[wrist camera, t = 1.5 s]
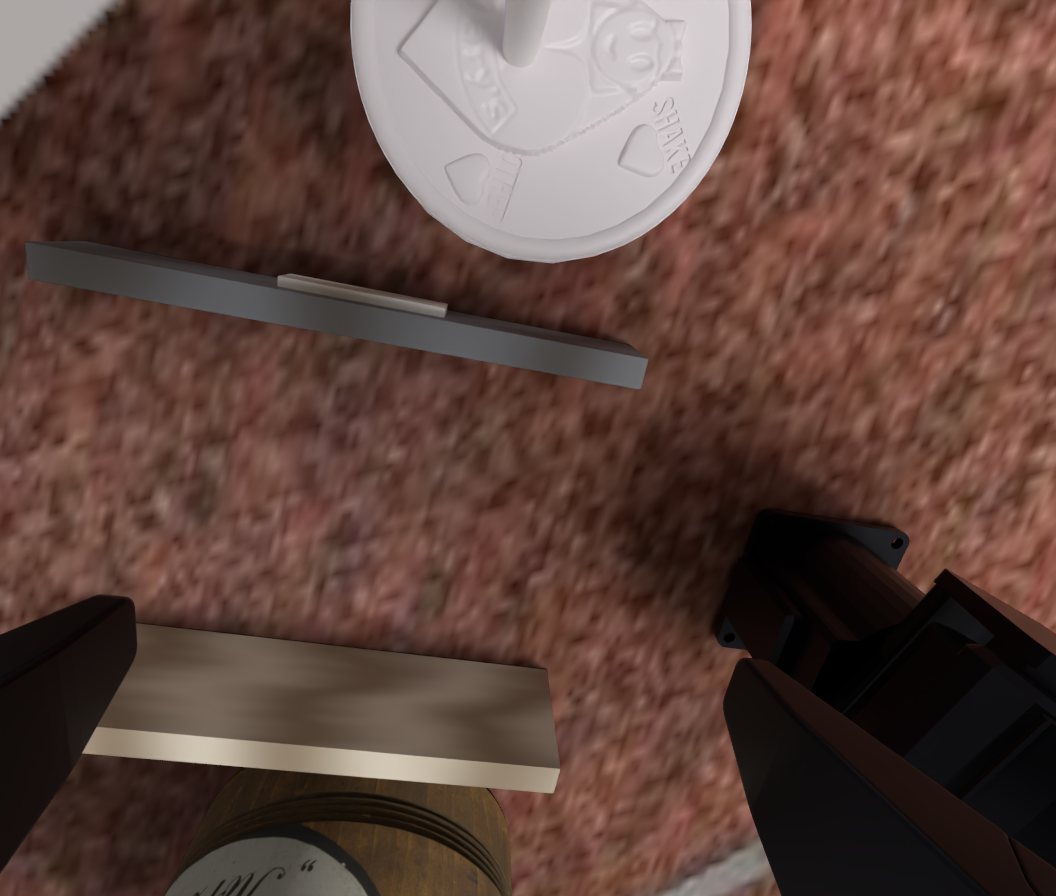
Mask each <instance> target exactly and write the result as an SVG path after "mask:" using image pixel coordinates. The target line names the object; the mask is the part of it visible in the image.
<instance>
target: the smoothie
mask: <svg viewBox="0 0 1056 896" xmlns="http://www.w3.org/2000/svg"><path fill="white" fill-rule="evenodd" d="M350 30H351V45H352V56H353V62H354V69H355V75H356V80H357V84H358V88H359V92H360V96H361V100H362V103H363V106H364V109H365V112H366V115H367V118H368V121H369V123H370V125H371V128H372V130H373V132H374V135H375V137H376V139H377V141H378V143H379V145H380V147H381V149H382V151H383V153H384V155H385V156H386V158H387V160H388V162H389V163H390V165H391V166H392V168H393V170H394V172H395V173H396V175H397V176H398V177H399V178H400V180H401V181H402V182H403V183H404V185H405V186H406V187H407V188H408V190H409V191H410V192H411V193H412V194H413V196H414V197H415V198H416V199H417V201H418V202H419V203H420V204H421V206H422V207H423V208H424V209H425V211H426V212H427V213H428V214H430V215H431V216H432V217H434V218H435V219H436V220H438V221H439V222H440V223H442V224H443V225H444V226H446V227H447V228H448V229H450V230H451V231H452V232H454V233H455V234H456V235H458V236H459V237H460V238H462V239H463V240H464V241H466V242H468V243H471V244H473V245H476V246H478V247H481V248H483V249H486V250H488V251H491V252H493V253H495V254H498V255H500V256H503V257H505V258H508V259H517V260H526V261H535V262H544V263H557V262H563V261H569V260H575V259H581V258H587V257H593V256H597V255H599V254H601V253H604V252H608V251H610V250H613V249H615V248H618V247H620V246H623V245H625V244H627V243H629V242H631V241H632V240H634V239H636V238H638V237H640V236H642V235H643V234H645V233H646V232H648V231H649V230H651V229H652V228H654V227H655V226H657V225H658V224H659V223H660V222H662V221H663V220H664V219H665V218H667V217H668V216H669V215H670V214H671V213H672V212H673V211H674V210H675V209H677V208H678V207H679V206H680V205H681V204H682V203H683V202H684V201H685V200H686V198H687V197H688V196H689V195H690V194H691V193H692V191H693V190H694V189H695V188H696V187H697V186H698V184H699V183H700V181H701V180H702V179H703V177H704V176H705V175H706V173H707V172H708V170H709V169H710V167H711V165H712V164H713V162H714V160H715V159H716V157H717V155H718V154H719V152H720V150H721V148H722V146H723V144H724V142H725V140H726V138H727V136H728V134H729V131H730V129H731V126H732V123H733V121H734V118H735V116H736V113H737V110H738V106H739V103H740V100H741V97H742V93H743V89H744V84H745V80H746V75H747V70H748V62H749V55H750V45H751V0H351V21H350Z"/></svg>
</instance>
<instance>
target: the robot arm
mask: <svg viewBox="0 0 1056 896" xmlns="http://www.w3.org/2000/svg"><path fill="white" fill-rule="evenodd" d="M770 519H774V521H773V522H772V524H770V525H766V523H767V522H768V520H770ZM896 538H897V539H896ZM894 539H896V541H895V542H894V543H892V541H893V540H894ZM891 543H892V544H891ZM908 544H909V537H908V536H907V535H906V534H905V533H904V532H902V531H901V530H899V529H897V528H892V527H886V526H879V525H873V524H867V523H860V522H854V521H848V520H841V519H835V518H829V517H822V516H816V515H810V514H803V513H797V512H791V511H784V510H778V509H765V510H763V511H761V512H760V513H759V514H758V516H757V517H756V520H755V523H754V525H753V528H752V531H751V533H750V536H749V539H748V542H747V544H746V547H745V550H744V552H743V555H742V556H741V557H740V558H739V559H738V562H737V565H736V568H735V570H734V573H733V576H732V579H731V581H730V584H729V587H728V589H727V592H726V595H725V598H724V600H723V603H722V606H721V608H722V612H721V615H720V618H719V621H718V623H717V626H716V629H715V633H714V634H715V637H716V639H717V641H718V642H719V644H720V645H721V646H723V647H728V648H736V649H744V650H748V652H749V653H750V655H751V656H752V658H742V659H740V660H739V661H738V662H737V664H736V666H735V669H734V671H733V674H732V677H731V680H730V682H729V685H728V688H727V691H726V693H725V696H724V701H723V710H724V716H725V720H726V723H727V727H728V731H729V735H730V738H731V742H732V746H733V750H734V753H735V757H736V761H737V765H738V768H739V772H740V776H741V779H742V783H743V787H744V791H745V794H746V798H747V801H748V805H749V808H750V811H751V814H752V817H753V820H754V823H755V826H756V829H757V831H758V834H759V837H760V839H761V842H762V845H763V847H764V850H765V853H766V856H767V858H768V861H769V864H770V866H771V869H772V872H773V874H774V877H775V880H776V882H777V885H778V888H779V891H780V893H781V896H1056V634H1055V633H1054V632H1052V631H1051V630H1049V629H1048V628H1046V627H1045V626H1043V625H1042V624H1040V623H1038V622H1036V621H1035V620H1033V619H1031V618H1030V617H1028V616H1026V615H1025V614H1023V613H1021V612H1019V611H1018V610H1016V609H1014V608H1013V607H1011V606H1009V605H1007V604H1006V603H1004V602H1002V601H1001V600H999V599H997V598H996V597H994V596H992V595H990V594H989V593H987V592H985V591H984V590H982V589H980V588H978V587H977V586H975V585H973V584H972V583H970V582H968V581H966V580H965V579H963V578H961V577H960V576H958V575H956V574H955V573H953V572H951V571H949V570H948V569H946V568H945V569H944V570H943V571H942V572H941V574H940V575H939V576H938V577H937V578H936V579H935V580H934V582H935V583H936V585H935V586H934V587H933V588H932V589H931V590H930V591H929V592H928V593H927V594H926V595H925V594H924V593H923V592H922V591H920V590H919V589H918V588H917V587H916V586H914V585H913V584H912V583H911V582H909V581H908V580H907V579H906V578H905V577H903V576H902V575H901V574H900V573H899V572H897V571H896V570H897V568H898V566H899V564H900V561H901V559H902V557H903V555H904V553H905V551H906V549H907V547H908ZM727 633H731V634H730V635H728V636H725V635H726V634H727ZM724 636H725V637H724ZM136 652H137V629H136V615H135V606H134V602H133V600H131V599H130V598H129V597H124V596H114V595H96V596H93V597H91V598H88V599H86V600H83V601H81V602H78V603H76V604H74V605H71V606H69V607H66V608H64V609H61V610H59V611H57V612H54V613H52V614H49V615H47V616H44V617H42V618H40V619H37V620H35V621H32V622H30V623H27V624H25V625H23V626H20V627H18V628H15V629H13V630H11V631H8V632H6V633H3V634H1V635H0V873H1V872H2V870H3V869H4V868H5V866H6V865H7V863H8V862H9V860H10V859H11V857H12V856H13V855H14V853H15V852H16V850H17V849H18V847H19V846H20V845H21V843H22V842H23V840H24V839H25V837H26V836H27V835H28V833H29V832H30V830H31V829H32V827H33V826H34V824H35V823H36V822H37V820H38V819H39V817H40V816H41V814H42V813H43V812H44V810H45V809H46V807H47V806H48V804H49V803H50V802H51V800H52V799H53V797H54V796H55V794H56V793H57V792H58V790H59V789H60V787H61V786H62V784H63V783H64V781H65V780H66V778H67V777H68V775H69V774H70V772H71V771H72V769H73V767H74V766H75V764H76V762H77V761H78V759H79V757H80V756H81V754H82V752H83V751H84V749H85V747H86V745H87V744H88V742H89V740H90V738H91V737H92V735H93V733H94V731H95V729H96V728H97V726H98V724H99V722H100V721H101V719H102V717H103V715H104V713H105V712H106V710H107V708H108V706H109V705H110V703H111V701H112V699H113V697H114V696H115V694H116V692H117V690H118V688H119V687H120V685H121V683H122V681H123V680H124V678H125V676H126V674H127V672H128V671H129V669H130V667H131V665H132V663H133V661H134V659H135V656H136Z"/></svg>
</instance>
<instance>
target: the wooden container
mask: <svg viewBox="0 0 1056 896" xmlns="http://www.w3.org/2000/svg"><path fill="white" fill-rule="evenodd" d="M165 896H512V889H511V857H510V840H509V833H508V828H507V824H506V820H505V818H504V815H503V813H502V811H501V809H500V807H499V805H498V803H497V802H496V800H495V799H494V797H493V796H492V795H491V793H490V792H489V791H488V790H487V789H486V788H485V787H473V786H462V785H450V784H438V783H426V782H414V781H403V780H391V779H379V778H367V777H356V776H344V775H332V774H320V773H309V772H297V771H285V770H273V769H262V768H250V767H246V768H245V769H243V770H242V771H240V772H239V773H238V774H237V775H236V776H235V777H233V778H232V779H231V780H230V781H229V782H228V783H227V784H226V785H225V786H224V787H223V788H222V790H221V791H220V792H219V793H218V795H217V796H216V798H215V799H214V801H213V802H212V804H211V806H210V807H209V809H208V811H207V813H206V815H205V817H204V818H203V820H202V822H201V824H200V826H199V828H198V830H197V832H196V834H195V836H194V838H193V840H192V842H191V844H190V846H189V848H188V850H187V852H186V854H185V856H184V858H183V860H182V862H181V864H180V866H179V868H178V870H177V872H176V874H175V876H174V878H173V880H172V882H171V884H170V886H169V888H168V890H167V891H166V893H165Z"/></svg>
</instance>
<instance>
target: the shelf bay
mask: <svg viewBox="0 0 1056 896" xmlns="http://www.w3.org/2000/svg"><path fill="white" fill-rule="evenodd" d="M25 247H26V258H27V269H28V279H31V280H37V281H42V282H48V283H53V284H59V285H65V286H70V287H76V288H81V289H87V290H92V291H98V292H103V293H109V294H114V295H120V296H125V297H131V298H136V299H142V300H147V301H153V302H159V303H164V304H170V305H175V306H181V307H186V308H192V309H197V310H203V311H208V312H214V313H219V314H225V315H230V316H236V317H241V318H247V319H253V320H258V321H264V322H269V323H275V324H280V325H286V326H291V327H297V328H302V329H308V330H313V331H319V332H324V333H330V334H335V335H341V336H347V337H352V338H358V339H363V340H369V341H374V342H380V343H385V344H391V345H396V346H402V347H407V348H413V349H418V350H424V351H429V352H435V353H441V354H446V355H452V356H457V357H463V358H468V359H474V360H479V361H485V362H490V363H496V364H501V365H507V366H512V367H518V368H523V369H529V370H535V371H540V372H546V373H551V374H557V375H562V376H568V377H573V378H579V379H584V380H590V381H595V382H601V383H606V384H612V385H617V386H623V387H629V388H634V389H641V386H642V382H643V378H644V374H645V371H646V367H647V363H648V360H649V359H648V358H646V357H645V356H644V355H642V354H641V353H640V352H639V351H637V350H636V349H635V348H633V347H632V346H631V345H627V344H622V343H617V342H612V341H606V340H601V339H596V338H591V337H585V336H580V335H575V334H570V333H564V332H559V331H554V330H549V329H543V328H538V327H533V326H528V325H522V324H517V323H512V322H507V321H501V320H496V319H491V318H486V317H481V316H475V315H470V314H465V313H460V312H454V311H449V310H447V307H448V304H447V303H442V302H436V301H431V300H426V299H421V298H416V297H410V296H405V295H400V294H395V293H390V292H384V291H379V290H374V289H369V288H364V287H358V286H353V285H348V284H343V283H338V282H332V281H327V280H322V279H317V278H312V277H306V276H301V275H296V274H286V275H280V276H278V278H276V277H271V276H266V275H260V274H255V273H250V272H245V271H239V270H234V269H229V268H224V267H218V266H213V265H208V264H203V263H197V262H192V261H187V260H182V259H177V258H171V257H166V256H161V255H156V254H150V253H145V252H140V251H135V250H129V249H124V248H119V247H114V246H108V245H103V244H98V243H93V242H87V241H50V242H25ZM136 629H137V652H136V656H135V659H134V661H133V663H132V665H131V667H130V669H129V671H128V672H127V674H126V676H125V678H124V680H123V681H122V683H121V685H120V687H119V688H118V690H117V692H116V694H115V696H114V697H113V699H112V701H111V703H110V705H109V706H108V708H107V710H106V712H105V713H104V715H103V717H102V719H101V721H100V722H99V724H98V726H97V728H96V729H95V731H94V733H93V735H92V737H91V738H90V740H89V742H88V744H87V745H86V747H85V749H84V751H83V752H82V753H85V754H97V755H109V756H120V757H132V758H144V759H156V760H167V761H179V762H191V763H203V764H214V765H226V766H238V767H250V768H262V769H273V770H285V771H297V772H309V773H320V774H332V775H344V776H356V777H367V778H379V779H391V780H403V781H414V782H426V783H438V784H450V785H462V786H473V787H485V788H497V789H509V790H520V791H532V792H544V793H554V789H555V786H556V782H557V779H558V775H559V772H560V763H559V755H558V748H557V741H556V733H555V726H554V718H553V711H552V704H551V696H550V689H549V682H548V674H547V670H545V669H536V668H527V667H519V666H510V665H501V664H492V663H483V662H474V661H466V660H457V659H448V658H439V657H430V656H421V655H413V654H404V653H395V652H386V651H377V650H368V649H359V648H351V647H342V646H333V645H324V644H315V643H306V642H298V641H289V640H280V639H271V638H262V637H253V636H244V635H236V634H227V633H218V632H209V631H200V630H191V629H183V628H174V627H165V626H156V625H147V624H138V623H136Z"/></svg>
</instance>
